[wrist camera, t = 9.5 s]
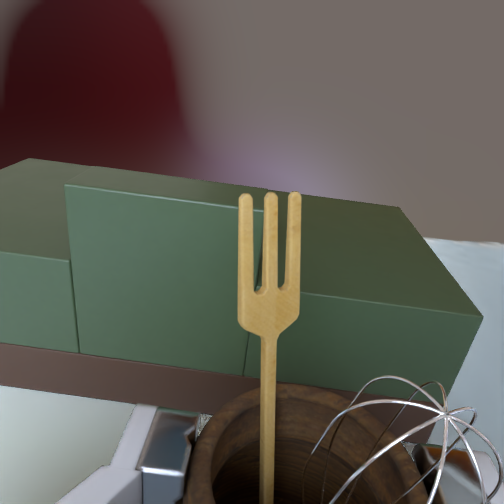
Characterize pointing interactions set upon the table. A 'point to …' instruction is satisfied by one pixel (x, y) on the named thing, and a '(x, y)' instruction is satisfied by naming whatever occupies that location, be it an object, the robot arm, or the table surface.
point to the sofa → (215, 295)
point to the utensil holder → (304, 410)
